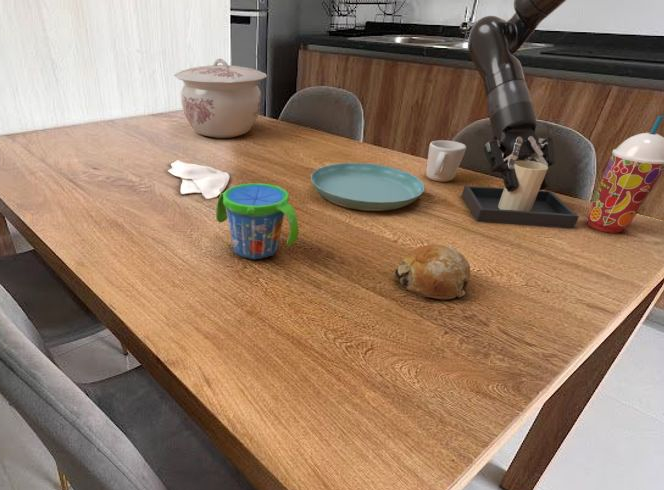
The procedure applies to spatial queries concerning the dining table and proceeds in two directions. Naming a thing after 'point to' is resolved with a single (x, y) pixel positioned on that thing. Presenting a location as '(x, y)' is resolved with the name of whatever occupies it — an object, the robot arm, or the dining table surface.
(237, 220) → the snack cup
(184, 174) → the cloth
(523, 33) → the robot arm
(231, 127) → the chamber pot
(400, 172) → the teal plate
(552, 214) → the tray
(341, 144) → the dining table surface
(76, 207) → the dining table surface
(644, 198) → the smoothie
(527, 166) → the tumbler
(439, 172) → the cup
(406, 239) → the dining table surface
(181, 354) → the dining table surface
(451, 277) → the bread roll
